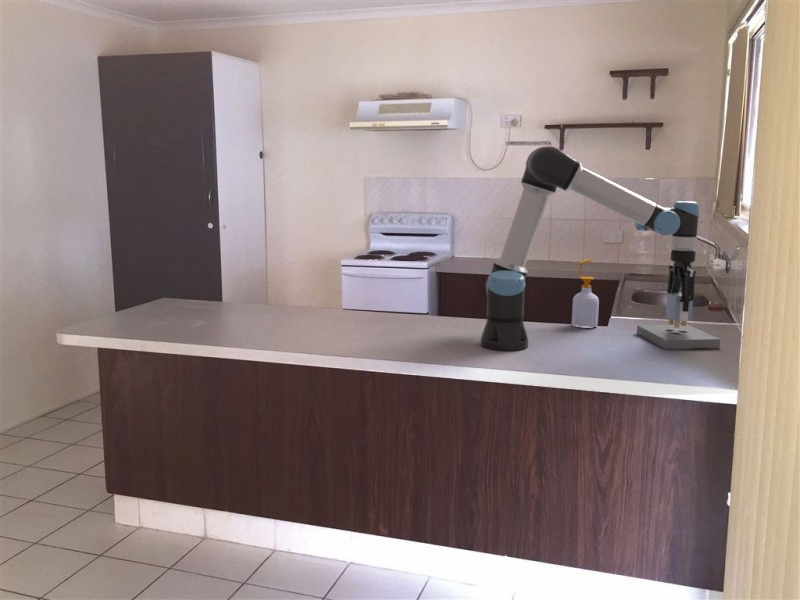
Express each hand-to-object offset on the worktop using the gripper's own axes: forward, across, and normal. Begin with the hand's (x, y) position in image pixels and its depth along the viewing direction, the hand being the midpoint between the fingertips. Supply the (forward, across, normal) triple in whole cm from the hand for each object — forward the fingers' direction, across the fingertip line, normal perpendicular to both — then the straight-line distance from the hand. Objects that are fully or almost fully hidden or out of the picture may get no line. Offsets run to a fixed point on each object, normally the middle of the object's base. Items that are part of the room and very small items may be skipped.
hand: (678, 318), depth 243 cm
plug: (+2, 0, 0) cm, 2 cm away
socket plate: (+7, 0, 0) cm, 7 cm away
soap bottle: (+8, +24, +23) cm, 34 cm away
